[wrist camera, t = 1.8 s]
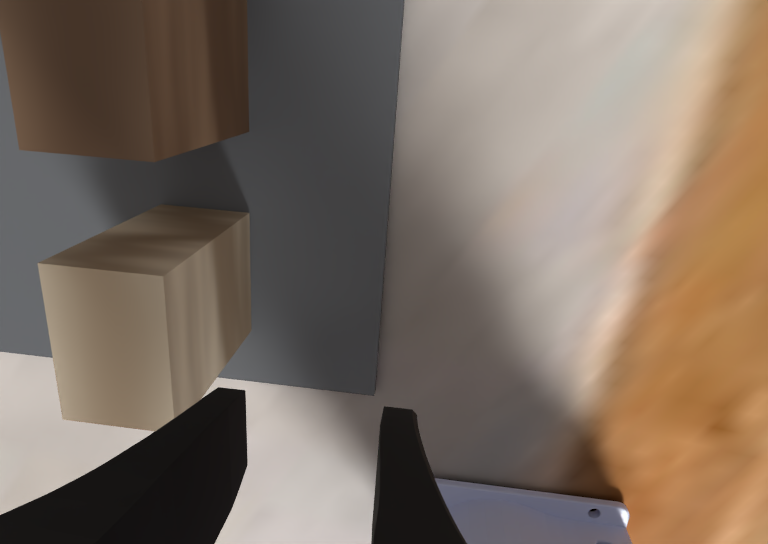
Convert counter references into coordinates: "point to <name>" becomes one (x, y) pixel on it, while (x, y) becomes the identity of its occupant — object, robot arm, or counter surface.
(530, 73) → the counter surface
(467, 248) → the counter surface
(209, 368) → the beech block
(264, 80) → the mat
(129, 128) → the walnut block
